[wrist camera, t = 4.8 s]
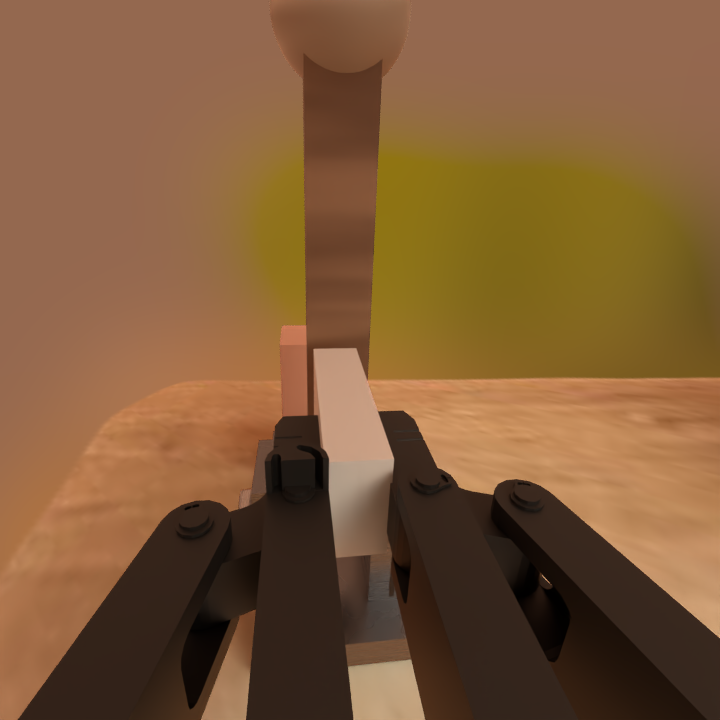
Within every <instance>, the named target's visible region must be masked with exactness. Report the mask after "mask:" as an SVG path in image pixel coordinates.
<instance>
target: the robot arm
mask: <svg viewBox="0 0 720 720" xmlns="http://www.w3.org/2000/svg"><path fill="white" fill-rule="evenodd" d="M313 351H314V415H306V416H283V417H282V419H281V420H280V421H279V422H278V423H277V425H276V426H275V435H274V449H273V450H272V451H271V452H270V453H268V454H267V457H266V459H265V461H264V462H265V479H266V494H265V495H264V496H263V497H262V498H260V499H259V500H258V501H256V502H255V503H253V504H251V505H249V506H246V507H244V508H241V509H238V510H235V511H231V512H228V509H227V508H226V507H224V506H223V505H222V504H220V503H217V502H214V501H210V500H205V501H194V502H190V503H187V504H183V505H181V506H180V507H178V508H176V509H174V510H172V511H171V512H170V513H169V514H168V515H167V516H166V517H165V518H164V519H163V520H162V521H161V522H160V524H159V525H158V526H157V528H156V529H155V531H154V532H153V533H152V535H151V536H150V538H149V539H148V540H147V542H146V543H145V544H144V546H143V547H142V549H141V550H140V551H139V553H138V554H137V556H136V557H135V558H134V560H133V561H132V562H131V564H130V565H129V567H128V568H127V569H126V571H125V572H124V574H123V575H122V576H121V578H120V579H119V580H118V582H117V583H116V585H115V586H114V587H113V589H112V590H111V592H110V593H109V594H108V596H107V597H106V598H105V600H104V601H103V603H102V604H101V605H100V607H99V608H98V610H97V611H96V612H95V614H94V615H93V616H92V618H91V619H90V621H89V622H88V623H87V625H86V626H85V628H84V629H83V630H82V632H81V633H80V634H79V636H78V637H77V639H76V640H75V641H74V643H73V644H72V646H71V647H70V648H69V650H68V651H67V652H66V654H65V655H64V657H63V658H62V659H61V661H60V662H59V664H58V665H57V666H56V668H55V669H54V670H53V672H52V673H51V675H50V676H49V677H48V679H47V680H46V682H45V683H44V684H43V686H42V687H41V688H40V690H39V691H38V693H37V694H36V695H35V697H34V698H33V700H32V701H31V702H30V704H29V705H28V706H27V708H26V709H25V711H24V712H23V713H22V715H21V716H20V718H19V719H18V720H201V718H202V715H203V712H204V710H205V707H206V705H207V702H208V699H209V697H210V694H211V692H212V689H213V686H214V684H215V681H216V679H217V676H218V673H219V671H220V668H221V666H222V663H223V660H224V658H225V655H226V653H227V650H228V647H229V645H230V642H231V640H232V637H233V634H234V632H235V629H236V627H237V624H238V621H239V616H240V615H242V614H245V613H247V612H250V611H252V610H255V609H256V616H255V627H254V638H253V649H252V660H251V671H250V683H249V694H248V705H247V716H246V720H353V711H352V702H351V693H350V683H349V674H348V665H347V655H346V646H345V637H344V627H343V618H342V609H341V599H340V590H339V580H338V571H337V562H336V558H339V557H351V556H364V555H376V554H387V544H388V539H389V543H390V547H391V551H392V558H391V570H390V582H389V597H390V596H394V587H395V592H396V596H397V600H398V605H399V609H400V613H401V617H402V622H403V626H404V630H405V634H406V639H407V643H408V647H409V651H410V656H411V660H412V664H413V669H414V673H415V677H416V681H417V686H418V690H419V694H420V698H421V703H422V707H423V711H424V716H425V720H720V638H719V637H717V636H716V635H715V634H714V633H713V632H712V631H711V630H709V629H708V628H707V627H706V626H705V625H704V624H702V623H701V622H700V621H699V620H698V619H697V618H695V617H694V616H693V615H692V614H691V613H690V612H688V611H687V610H686V609H685V608H684V607H683V606H682V605H680V604H679V603H678V602H677V601H676V600H675V599H673V598H672V597H671V596H670V595H669V594H668V593H666V592H665V591H664V590H663V589H662V588H661V587H659V586H658V585H657V584H656V583H655V582H654V581H652V580H651V579H650V578H649V577H648V576H647V575H646V574H644V573H643V572H642V571H641V570H640V569H639V568H637V567H636V566H635V565H634V564H633V563H632V562H630V561H629V560H628V559H627V558H626V557H625V556H623V555H622V554H621V553H620V552H619V551H618V550H616V549H615V548H614V547H613V546H612V545H611V544H610V543H608V542H607V541H606V540H605V539H604V538H603V537H601V536H600V535H599V534H598V533H597V532H596V531H594V530H593V529H592V528H591V527H590V526H589V525H587V524H586V523H585V522H584V521H583V520H582V519H580V518H579V517H578V516H577V515H576V514H575V513H574V512H572V511H571V510H570V509H569V508H568V507H567V506H565V505H564V504H563V503H562V502H561V501H560V500H558V499H557V498H556V497H555V496H554V495H553V494H551V493H550V492H549V491H547V490H546V489H544V488H543V487H541V486H539V485H537V484H534V483H532V482H529V481H524V480H517V479H515V480H506V481H504V482H502V483H499V484H498V485H497V487H496V488H495V490H494V495H490V494H484V493H478V492H472V491H468V490H464V489H461V488H459V487H458V485H457V483H456V481H455V480H454V479H453V478H452V476H451V475H450V474H448V473H446V472H445V471H443V470H442V469H439V468H437V466H436V464H435V462H434V460H433V458H432V456H431V453H430V451H429V449H428V447H427V445H426V443H425V441H424V440H423V437H422V435H421V433H420V432H419V428H418V426H417V424H416V422H415V420H414V419H413V418H412V417H411V416H409V415H408V414H407V413H405V412H404V411H380V412H378V411H377V408H376V405H375V402H374V399H373V396H372V393H371V390H370V387H369V384H368V381H367V379H366V376H365V373H364V370H363V367H362V364H361V361H360V358H359V355H358V352H357V349H356V348H331V349H313ZM542 575H543V576H544V577H545V578H546V579H547V580H548V581H549V582H550V584H549V583H548V582H547V581H546V580H545V579H544V578H543V577H542Z"/></svg>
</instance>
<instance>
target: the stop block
mask: <svg viewBox="0 0 720 720" xmlns="http://www.w3.org/2000/svg"><path fill="white" fill-rule="evenodd" d="M280 362H281V388H282V414H283V416H306V415H307V341H306V325H302V326H301V325H300V326H282V330H281V339H280Z"/></svg>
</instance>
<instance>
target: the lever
mask: <svg viewBox="0 0 720 720" xmlns="http://www.w3.org/2000/svg"><path fill="white" fill-rule="evenodd" d="M270 15H271V22H272V27H273V31H274V34H275V37H276V40H277V43H278V45H279V47H280V49H281V52H282V53H283V55H284V57H285V59H286V60H287V62H288V63H289V65H290V66H291V67H292V69H293V70H294V71H295V72H296V73H297V74H298V75H299V76H300V77H301V78H302V79H303V112H304V113H303V120H304V189H305V190H304V191H305V192H304V193H305V264H306V265H305V266H306V267H305V268H306V341H307V415H314V351H313V349H331V348H356V349H357V352H358V355H359V358H360V361H361V364H362V367H363V370H364V373H365V376H366V379H367V381H368V362H369V361H368V360H369V339H370V319H371V296H372V275H373V254H374V232H375V212H376V190H377V169H378V145H379V125H380V104H381V83H382V78H383V77H384V76H385V75H386V74H387V73H388V72H389V70H390V69H391V68H392V67H393V65H394V64H395V62H396V60H397V59H398V57H399V55H400V53H401V51H402V49H403V47H404V44H405V41H406V38H407V34H408V30H409V25H410V16H411V0H270Z"/></svg>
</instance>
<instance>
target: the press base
mask: <svg viewBox="0 0 720 720" xmlns="http://www.w3.org/2000/svg"><path fill="white" fill-rule="evenodd" d="M274 435H275V431H274V434H273V440H259V444H258V451H257V458H256V464H255V471H254V478H253V484H252V489H241V491H240V497H239V509H241V508H244V507H246V506H249V505H251V504H253V503H255V502H256V501H258V500H259V499H260V498H262V497H263V496H264V495H265V494H266V479H265V462H264V461H265V459H266V457H267V454H268V453H270V452H271V451H272V450H273V449H274ZM391 558H392V551H391V547H390V543H389V539H388V544H387V554H376V555H364V556H351V557H339V558H336V562H337V571H338V580H339V590H340V599H341V609H342V618H343V627H344V637H345V646H346V655H347V665H348V666H353V665H362V664H371V663H380V662H389V661H398V660H407V659H411V656H410V651H409V647H408V643H407V639H406V634H405V630H404V626H403V622H402V617H401V613H400V609H399V605H398V600H397V596H396V592H395V587H394V596H390V597H389V582H390V570H391ZM254 627H255V626H254ZM253 638H254V636H253ZM252 649H253V647H252Z"/></svg>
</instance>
